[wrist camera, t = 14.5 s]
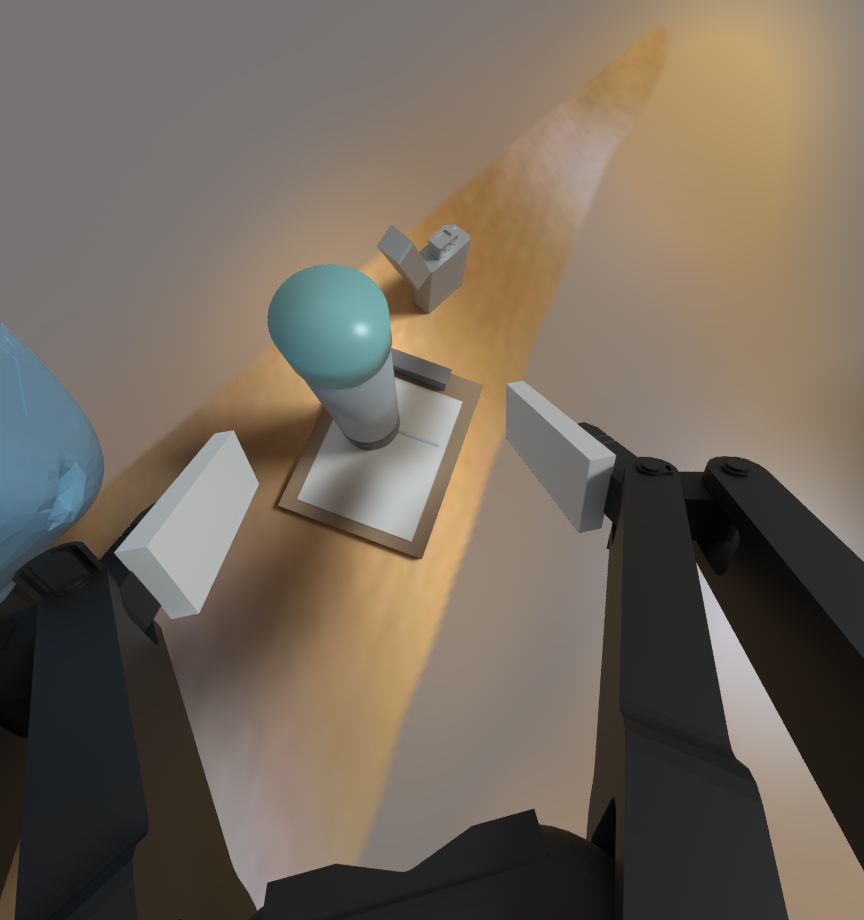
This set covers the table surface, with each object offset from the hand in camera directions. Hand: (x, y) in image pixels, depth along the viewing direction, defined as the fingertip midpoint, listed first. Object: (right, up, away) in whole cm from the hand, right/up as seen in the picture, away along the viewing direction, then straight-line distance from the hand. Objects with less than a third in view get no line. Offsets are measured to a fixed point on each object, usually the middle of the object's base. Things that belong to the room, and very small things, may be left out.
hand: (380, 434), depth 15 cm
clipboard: (-1, 0, +9) cm, 9 cm away
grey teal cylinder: (-2, +2, +9) cm, 9 cm away
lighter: (+2, +11, +12) cm, 17 cm away
